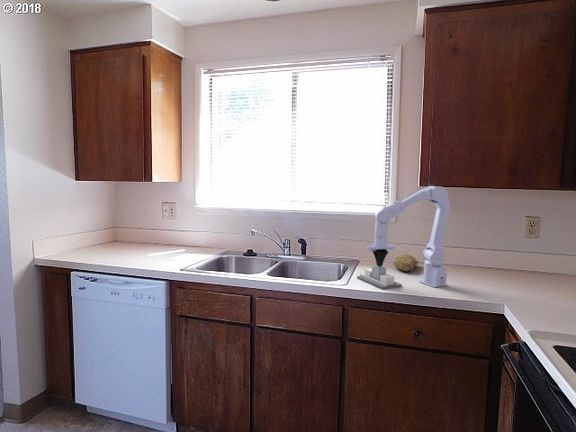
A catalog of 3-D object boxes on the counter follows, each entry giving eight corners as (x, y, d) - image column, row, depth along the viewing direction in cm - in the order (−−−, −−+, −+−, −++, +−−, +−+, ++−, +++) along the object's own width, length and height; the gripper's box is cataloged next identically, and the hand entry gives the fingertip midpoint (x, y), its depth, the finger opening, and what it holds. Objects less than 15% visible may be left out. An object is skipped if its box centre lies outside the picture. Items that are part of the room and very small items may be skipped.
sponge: (400, 265, 205) (383, 264, 191) (405, 252, 205) (388, 249, 190) (422, 274, 197) (406, 273, 182) (427, 261, 196) (412, 259, 181)
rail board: (401, 286, 162) (402, 276, 161) (381, 289, 157) (382, 279, 156) (375, 276, 178) (376, 266, 177) (356, 278, 173) (357, 268, 172)
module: (385, 281, 166) (386, 267, 165) (378, 282, 164) (379, 268, 164) (378, 278, 170) (379, 265, 170) (371, 279, 169) (372, 265, 168)
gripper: (387, 234, 172) (386, 262, 173) (362, 235, 165) (360, 265, 167) (398, 236, 165) (396, 266, 167) (372, 238, 159) (370, 268, 161)
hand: (379, 266), depth 166 cm, fingers closed
